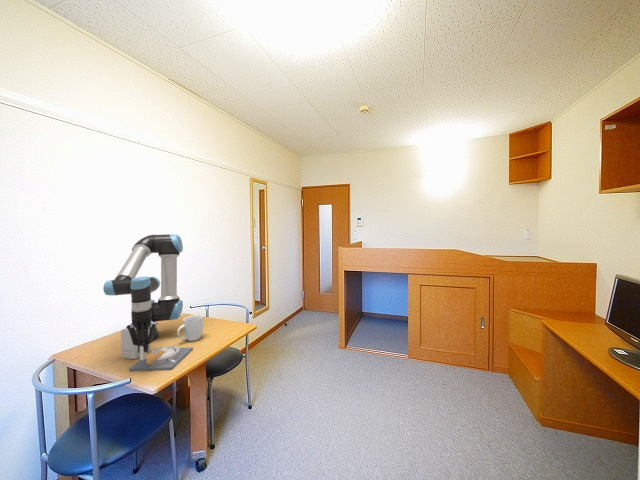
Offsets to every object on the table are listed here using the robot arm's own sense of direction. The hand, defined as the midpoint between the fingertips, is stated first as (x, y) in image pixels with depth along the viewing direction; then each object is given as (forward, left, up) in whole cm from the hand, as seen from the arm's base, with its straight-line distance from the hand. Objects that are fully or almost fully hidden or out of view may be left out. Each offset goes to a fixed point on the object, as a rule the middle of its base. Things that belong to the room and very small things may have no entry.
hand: (143, 358), depth 116 cm
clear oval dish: (-5, +4, -4) cm, 8 cm away
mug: (-32, +7, -5) cm, 33 cm away
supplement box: (-15, -14, -5) cm, 21 cm away
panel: (-9, +4, -5) cm, 11 cm away
